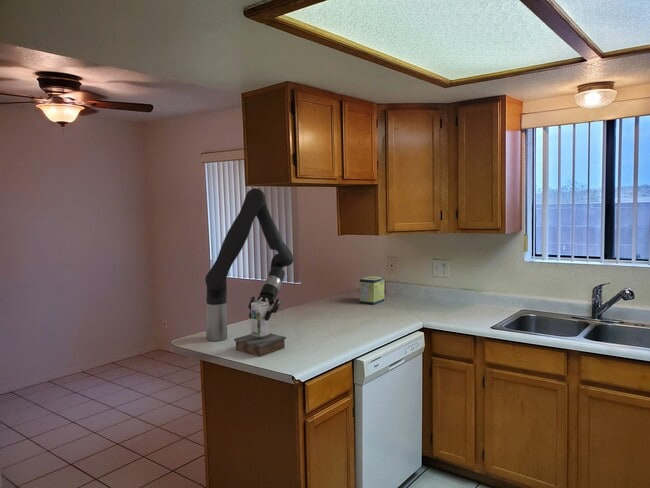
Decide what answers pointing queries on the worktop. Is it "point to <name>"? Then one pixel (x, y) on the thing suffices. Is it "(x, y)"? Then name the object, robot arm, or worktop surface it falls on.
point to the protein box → (371, 290)
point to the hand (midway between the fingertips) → (258, 318)
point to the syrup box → (259, 319)
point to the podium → (260, 344)
